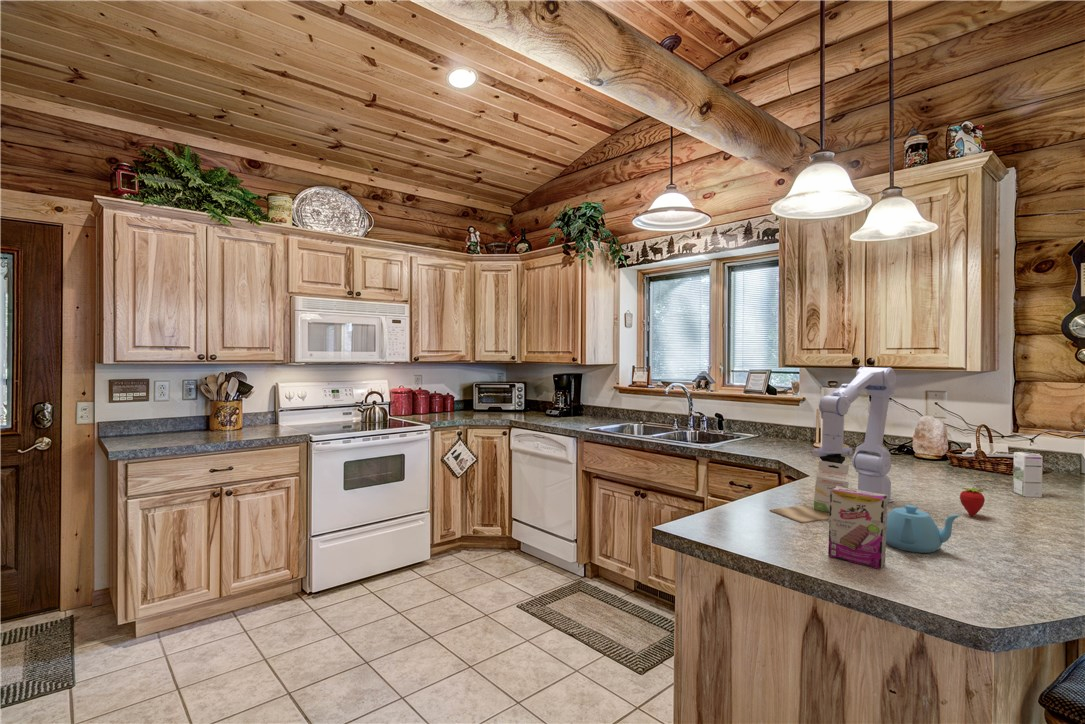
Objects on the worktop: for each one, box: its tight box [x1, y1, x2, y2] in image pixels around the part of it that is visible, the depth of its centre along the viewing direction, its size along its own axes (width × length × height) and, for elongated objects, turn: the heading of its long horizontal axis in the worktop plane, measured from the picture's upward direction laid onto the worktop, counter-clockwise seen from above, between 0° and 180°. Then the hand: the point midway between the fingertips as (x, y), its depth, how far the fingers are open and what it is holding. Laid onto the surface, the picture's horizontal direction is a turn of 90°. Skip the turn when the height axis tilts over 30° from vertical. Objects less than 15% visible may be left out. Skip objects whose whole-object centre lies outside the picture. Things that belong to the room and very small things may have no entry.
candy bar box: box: [827, 486, 889, 570], centre depth 125 cm, size 11×5×16 cm, turn 48°
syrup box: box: [1012, 451, 1044, 498], centre depth 185 cm, size 6×6×14 cm
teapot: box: [886, 504, 962, 554], centre depth 135 cm, size 15×15×10 cm
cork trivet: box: [769, 504, 830, 524], centre depth 160 cm, size 14×12×1 cm
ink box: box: [813, 460, 850, 513], centre depth 162 cm, size 9×5×15 cm, turn 62°
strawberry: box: [959, 487, 986, 517], centre depth 160 cm, size 6×8×10 cm
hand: (831, 478), depth 164 cm, fingers closed
